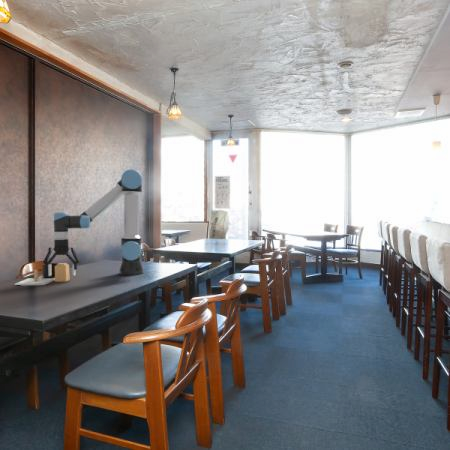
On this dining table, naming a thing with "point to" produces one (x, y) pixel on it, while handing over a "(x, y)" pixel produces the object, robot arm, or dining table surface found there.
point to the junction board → (31, 281)
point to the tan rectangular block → (62, 272)
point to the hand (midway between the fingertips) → (62, 275)
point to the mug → (45, 271)
